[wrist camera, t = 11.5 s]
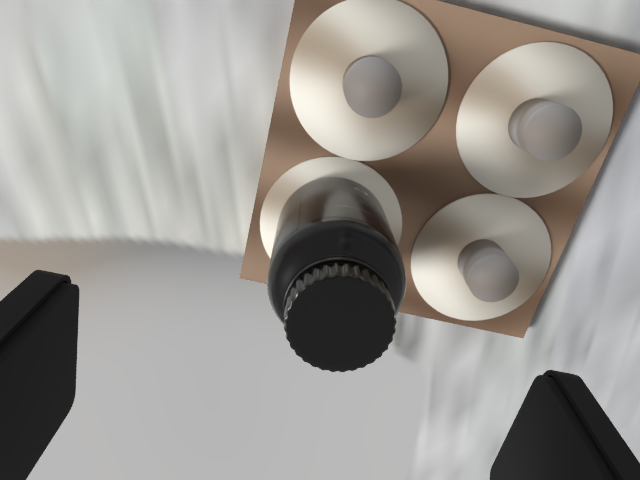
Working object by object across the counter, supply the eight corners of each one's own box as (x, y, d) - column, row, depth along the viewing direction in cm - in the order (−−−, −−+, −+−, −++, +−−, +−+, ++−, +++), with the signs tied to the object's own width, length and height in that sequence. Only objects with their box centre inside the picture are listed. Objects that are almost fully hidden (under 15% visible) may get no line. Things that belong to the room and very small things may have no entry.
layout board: (302, -34, 29) (299, -43, 25) (638, 55, 30) (685, 60, 26) (242, 270, 36) (232, 300, 32) (517, 328, 37) (539, 364, 33)
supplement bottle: (347, 292, 35) (358, 417, 24) (259, 240, 33) (226, 348, 22) (409, 210, 32) (453, 306, 21) (316, 151, 31) (312, 221, 20)
